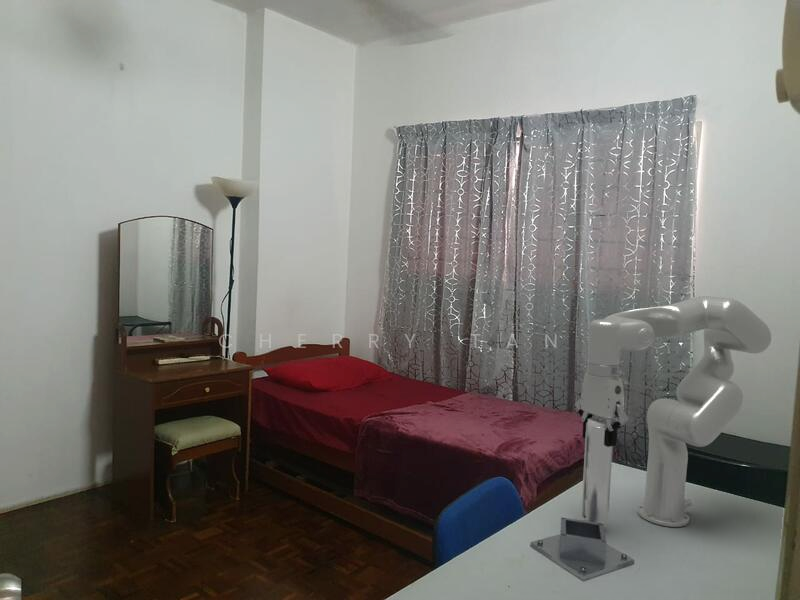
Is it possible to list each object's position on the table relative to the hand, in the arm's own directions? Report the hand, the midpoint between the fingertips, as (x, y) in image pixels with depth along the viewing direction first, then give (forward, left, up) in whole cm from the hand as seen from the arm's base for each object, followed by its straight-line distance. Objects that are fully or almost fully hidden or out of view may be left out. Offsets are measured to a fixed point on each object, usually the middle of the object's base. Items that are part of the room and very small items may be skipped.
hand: (598, 440), depth 145 cm
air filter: (0, 0, -20) cm, 20 cm away
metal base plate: (+13, +8, -23) cm, 27 cm away
